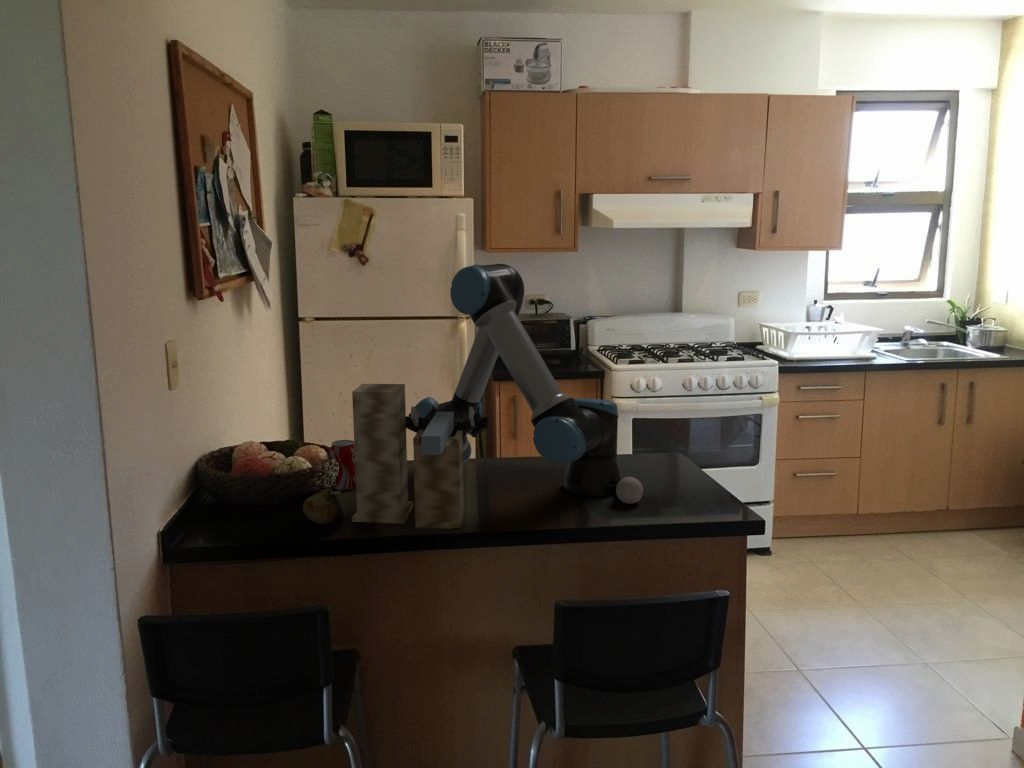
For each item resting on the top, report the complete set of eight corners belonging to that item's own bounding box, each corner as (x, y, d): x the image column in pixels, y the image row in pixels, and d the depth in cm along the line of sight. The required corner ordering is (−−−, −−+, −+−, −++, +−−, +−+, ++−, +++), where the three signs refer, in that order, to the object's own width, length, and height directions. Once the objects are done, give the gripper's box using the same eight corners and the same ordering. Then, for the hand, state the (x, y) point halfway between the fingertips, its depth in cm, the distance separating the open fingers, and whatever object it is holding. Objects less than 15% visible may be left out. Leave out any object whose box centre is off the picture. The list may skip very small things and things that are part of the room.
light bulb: (609, 474, 209) (622, 474, 198) (634, 478, 210) (648, 479, 199) (605, 500, 208) (618, 502, 197) (631, 504, 209) (644, 506, 198)
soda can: (352, 492, 211) (350, 446, 209) (326, 491, 212) (324, 445, 210) (362, 484, 218) (361, 439, 216) (337, 483, 219) (335, 438, 217)
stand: (413, 506, 200) (409, 383, 195) (404, 523, 188) (400, 393, 183) (363, 505, 201) (358, 383, 195) (352, 522, 189) (346, 392, 184)
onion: (314, 515, 194) (313, 482, 193) (345, 518, 192) (344, 485, 190) (296, 526, 187) (295, 492, 186) (328, 529, 185) (326, 495, 183)
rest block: (464, 516, 193) (462, 430, 189) (460, 528, 185) (458, 438, 181) (421, 515, 193) (418, 429, 190) (415, 528, 185) (413, 438, 182)
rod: (453, 428, 197) (453, 411, 197) (440, 454, 174) (440, 436, 173) (437, 428, 198) (436, 411, 197) (421, 454, 174) (421, 436, 173)
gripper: (500, 452, 209) (495, 428, 189) (402, 451, 210) (386, 427, 190) (501, 423, 212) (496, 396, 191) (404, 423, 213) (389, 396, 193)
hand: (441, 412), depth 191 cm, fingers open, 13 cm apart
